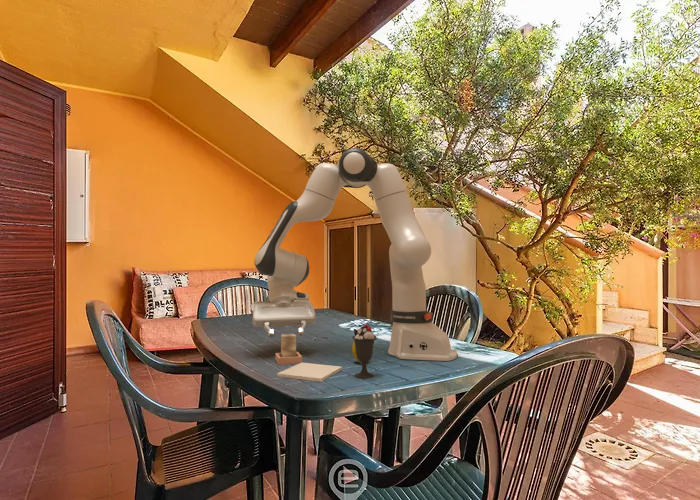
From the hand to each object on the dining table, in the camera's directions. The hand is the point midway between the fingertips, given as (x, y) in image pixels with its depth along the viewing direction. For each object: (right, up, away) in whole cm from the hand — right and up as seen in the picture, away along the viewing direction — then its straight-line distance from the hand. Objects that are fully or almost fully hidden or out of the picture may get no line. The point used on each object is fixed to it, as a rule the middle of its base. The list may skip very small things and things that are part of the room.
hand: (286, 334), depth 129 cm
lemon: (+23, -7, -6) cm, 25 cm away
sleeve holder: (+1, -7, -4) cm, 8 cm away
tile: (+9, -7, -17) cm, 21 cm away
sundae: (+24, -7, -20) cm, 32 cm away
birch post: (+1, -7, -4) cm, 8 cm away
